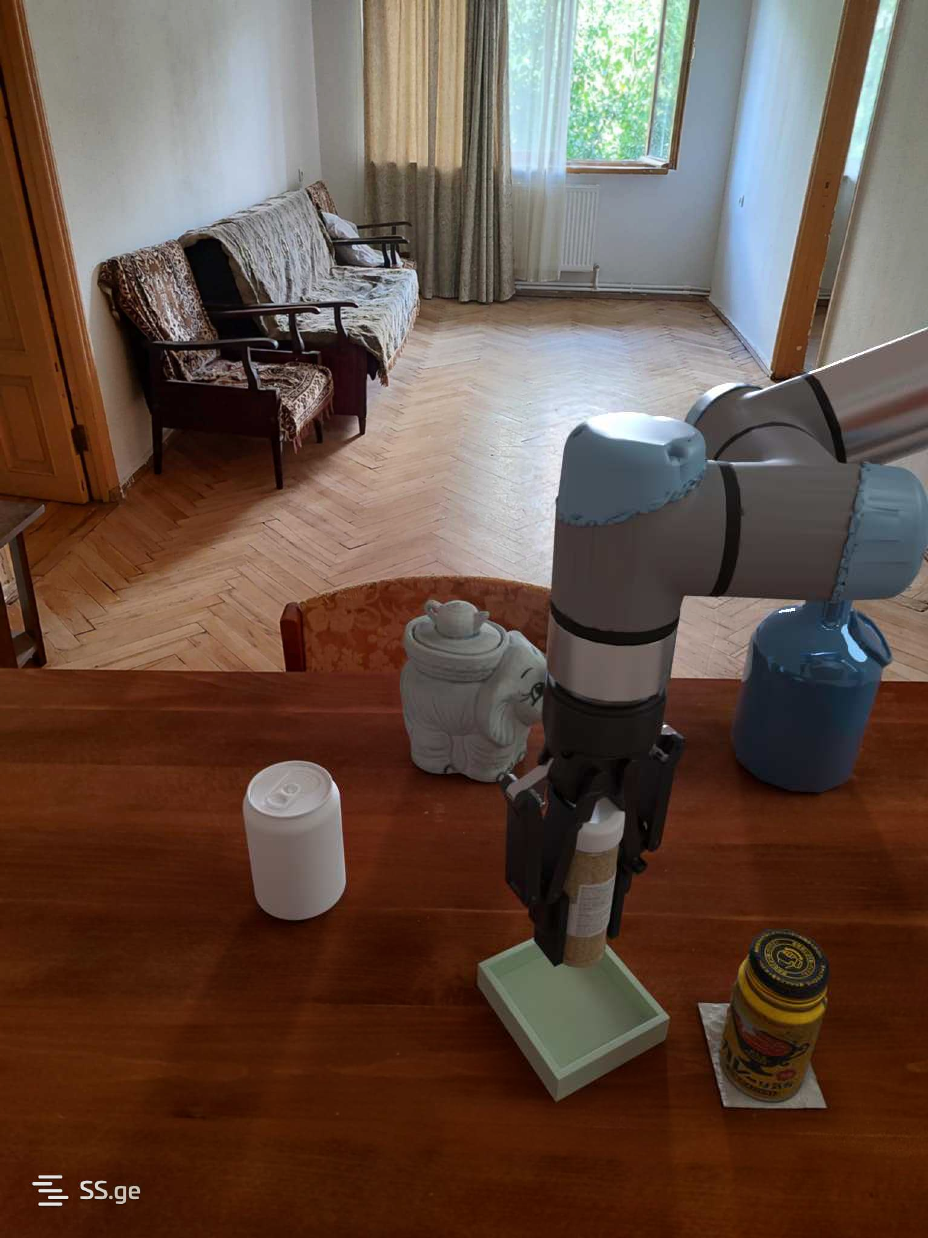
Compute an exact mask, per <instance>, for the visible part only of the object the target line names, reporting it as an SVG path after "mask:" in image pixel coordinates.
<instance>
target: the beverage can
mask: <svg viewBox="0 0 928 1238" xmlns="http://www.w3.org/2000/svg"><path fill="white" fill-rule="evenodd" d="M242 814H243V821H244V828H245V835H246V841H247V849H248V854H249V856H248V857H249V861H250V869H251V876H252V883H253V890H254V896H255V899H256V902H257V903H258V906H259V907H260V908H261V909H262V910H264V912H265V913H267V914H269V915H271V916H273V917H274V918H277V919H281V920H286V921H301V920H307V919H311V918H315V917H317V916H319V915H321V914H323V913H325V912H327V911H328V910H330V909H331V908H332V907H333V906H334V905H335V904H336V903H337V902H339V900H340V899H341V897H342V895H343V893H344V891H345V888H346V882H347V880H346V878H347V877H346V865H345V863H346V861H345V850H344V837H343V836H344V835H343V822H342V809H341V795H340V791H339V789H338V786H337V784H336V782H335V781H334V780H333V778H332V776H331V774H330V773H329V772H328V770H327V769H325V768H324V767H322V766H320V765H319V764H316V763H313V762H310V761H304V760H289V761H282V762H278V763H275V764H272V765H270V766H268V767H266V768H264V769H262V770H261V771H259V772H258V773H257V774H256V775H254V776H253V778H252V779H251V780H250V781H249V783H248V786H247V789H246V793H245V795H244V798H243V801H242Z"/></svg>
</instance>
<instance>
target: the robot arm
mask: <svg viewBox="0 0 928 1238" xmlns="http://www.w3.org/2000/svg"><path fill="white" fill-rule="evenodd" d="M565 440H566V441H565V443H564V447H563V452H562V461H561V469H560V477H559V484H558V491H557V492H558V493H557V496H556V498H555V500H554V502H555V515H554V533H553V548H552V549H553V550H552V553H553V554H552V566H551V567H552V568H551V584H550V600H549V612H548V613H549V614H548V616H549V617H548V627H547V638H546V639H547V641H546V652H545V654H546V665H547V670H546V672H545V676H544V688H543V702H542V722H541V723H542V728H543V732H544V734H543V735H544V743H543V746H542V748H541V750H540V752H539V754H538V756H537V759H536V767H534V768H533V769H532V770H530V771H529V772H528V773H526V774H525V775H523V776H522V777H521V778H518V777H517V776H516V775H515V774H513V773H509V774H508V775H506V776H505V777H504V778H503V779H502V780H501V781H499V788H500V790H501V793H502V795H503V797H504V799H505V801H506V827H505V829H506V830H505V831H506V834H505V862H504V863H505V865H504V866H505V867H504V868H505V869H504V881H505V884H506V885H507V886H508V888H509V889H510V890H511V891H512V893H514V895H515V896H516V897H517V898H518V900H519V901H520V903H522V905H523V907H525V908H527V910H528V911H527V916H528V919H529V920H530V922H531V923H532V924H533V925H534V928H533V929H534V930H533V938H534V942H535V943H536V944H537V945H538V947H539V948H540V949H541V951H542V952H543V953H544V954H545V956H546V957H547V958H548V960H549V961H550V962H551V964H552V965H553V966H554V967H556V966H558V965H560V964H562V963H563V958H564V949H565V940H566V930H567V921H568V911H569V902H570V898H569V897H568V896H567V895H566V894H565V893H564V891H563V890H562V889H563V886H564V883H565V880H566V877H567V874H568V871H569V867H570V864H571V861H572V858H573V855H574V852H575V849H576V844H577V837H578V832H579V830H580V829H582V827H583V824H584V823H588V822H590V820H591V818H592V815H593V812H594V808H595V805H596V802H597V801H599V800H600V799H602V798H606V797H607V798H608V799H609V800H610V801H611V802H612V803H613V804H614V805H616V806H617V807H618V808H619V809H620V810H621V812H624V813H625V821H624V830H623V836H622V838H621V840H620V842H619V848H618V854H617V862H616V866H617V868H616V876H615V883H614V891H613V898H612V904H611V911H610V918H609V923H608V925H607V932H606V937H608V938H609V939H610V940H614V939H615V938H617V937H619V936H620V930H621V924H622V916H623V910H624V904H625V903H624V902H625V897H626V896H625V895H626V894H628V893H629V892H630V889H631V888H632V883H633V876H634V875H636V876H638V875H641V874H643V873H645V871H646V869H647V868H648V862H646V860H645V859H644V858H643V857H642V855H641V854H643V853H644V852H646V851H647V852H649V853H654V852H656V851H657V850H658V849H659V848H660V847H661V844H662V841H663V835H664V830H665V825H666V820H667V816H668V815H667V814H668V810H669V804H670V799H671V794H672V787H673V782H674V777H675V771H676V767H677V765H678V763H679V761H680V759H681V757H682V755H683V753H684V750H685V748H686V746H687V739H686V738H685V737H684V736H683V735H681V734H680V733H679V732H677V731H676V730H675V729H673V728H672V727H671V726H670V725H669V724H668V723H666V722H665V721H664V719H665V712H666V707H667V701H668V700H667V699H668V694H669V687H668V684H669V683H670V682H671V676H672V669H673V663H674V656H675V650H676V644H677V635H678V629H679V624H680V618H681V608H682V604H683V601H684V598H685V597H704V598H720V597H721V598H722V597H723V598H740V599H741V598H743V599H745V598H746V599H763V600H764V599H766V600H785V601H805V600H806V601H828V602H829V603H833V604H834V603H838V602H839V601H852V600H854V601H874V600H876V601H877V600H889V599H892V598H895V597H897V596H899V595H900V594H902V593H903V592H905V591H906V590H907V589H908V588H909V587H910V586H911V585H912V584H913V582H914V581H915V580H916V578H917V576H918V575H919V574H920V571H921V569H922V566H923V562H924V560H925V557H926V553H927V549H928V496H927V493H926V491H925V489H924V486H923V484H922V482H921V481H920V479H919V478H918V477H917V476H916V475H915V474H914V473H913V472H912V471H910V470H909V469H907V468H905V467H902V466H895V465H888V464H889V463H893V462H895V461H896V462H897V461H899V460H901V459H904V458H907V457H910V456H913V455H915V454H919V453H921V452H925V451H926V450H928V326H927V327H925V328H922V329H919V330H916V331H913V332H911V333H909V334H906V335H903V336H901V337H898V338H896V339H894V340H891V341H889V342H886V343H883V344H881V345H878V346H875V347H873V348H869V349H868V350H865V351H861V352H860V353H857V354H854V355H852V356H851V355H850V356H849V357H846V358H843V359H841V360H839V361H836V362H833V363H831V364H829V365H825V366H823V367H821V368H818V369H815V370H812V371H810V372H807V373H804V374H802V375H801V374H800V375H798V376H795V377H792V378H790V379H787V380H785V381H781V382H779V383H776V384H773V385H771V386H768V387H766V388H764V387H762V386H760V385H758V384H757V385H756V384H752V383H747V382H729V383H724V384H721V385H718V386H716V387H713V388H712V389H710V390H708V391H707V392H705V393H704V394H703V395H701V396H700V397H699V398H698V399H697V400H696V401H695V402H694V404H692V406H691V407H690V409H689V411H688V412H687V414H686V416H685V418H684V421H682V420H680V419H676V418H672V417H668V416H654V415H650V414H647V413H641V412H618V413H617V412H616V413H608V414H602V415H597V416H594V417H591V418H588V419H586V420H584V421H582V422H580V423H579V424H578V425H576V426H575V428H573V429H572V430H571V431H570V433H569V434H568V436H567V438H566V439H565ZM545 798H546V800H547V802H546V801H545ZM544 810H545V813H544V814H543V811H544Z"/></svg>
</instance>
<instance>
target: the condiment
mask: <svg viewBox="0 0 928 1238" xmlns="http://www.w3.org/2000/svg"><path fill="white" fill-rule="evenodd" d="M747 952H748V954H747V955H746V958H745V959H744V960H743V961H742V963H741V964H740V965H739V967H738V971H737V972H736V973H737V974H736V977H735V981H734V983H733V985H732V994H731V996H730V999H729V1003H725V1002H723V1003H711V1002H698V1003H697V1005H698V1009H699V1012H700V1017H701V1020H702V1024H703V1029H704V1031H705V1036H706V1040H707V1044H708V1049H709V1053H710V1057H711V1061H712V1065H713V1068H714V1074H715V1077H716V1081H717V1085H718V1088H719V1093H720V1098H721V1101H722V1103H723V1106H724V1107H725V1108H750V1109H805V1108H807V1109H815V1108H816V1109H827V1108H828V1107H827V1105H826V1102H825V1098H824V1096H823V1094H822V1091H821V1089H820V1086H819V1084H818V1080H817V1077H816V1074H815V1071H814V1069H813V1066H812V1062H811V1057H812V1053H813V1051H814V1048H815V1044H816V1042H817V1039H818V1035H819V1032H820V1029H821V1026H822V1023H823V1019H824V1017H825V1013H826V1010H827V1007H828V993H827V989H828V983H829V981H830V977H831V970H830V962H829V960H828V958H827V956H826V953H825V952H824V950H823V949H822V948H821V947H820V945H819V944H818V943H816V942H815V940H812V939H811V938H809V937H808V936H805V935H804V934H801V933H799V932H797V931H794V930H791V929H785V928H772V929H771V928H770V929H765V930H763V931H762V932H761V933H759V934H757V935H756V936H755V937H753V939H752V942H751V943H750V944H749V948H748V951H747Z"/></svg>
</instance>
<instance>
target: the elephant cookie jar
mask: <svg viewBox="0 0 928 1238" xmlns="http://www.w3.org/2000/svg"><path fill="white" fill-rule="evenodd" d="M423 608H424V613H425V615H422V616H419V617H416V618H414V619H412V620H411V621H409V622H408V623H407V625H406V626H405V629H404V633H403V642H402V643H403V644H402V645H403V647H404V650H405V653H406V656H407V659H408V660H407V661H406V662H405V663H404V666H403V668H402V670H401V672H400V678H399V691H400V698H401V705H402V711H403V712H402V713H403V721H404V725H405V730H406V732H407V734H408V737H409V742H410V751H411V752H410V753H411V755H410V756H411V760H412V761H413V763H414V764H415V765H416V766H417V767H419V768H420V769H421V770H423V771H426V772H428V773H432V774H437V775H439V774H440V775H443V774H444V775H449V774H457V773H460V774H463V775H465V776H466V777H468V778H470V779H473V780H476V781H478V782H483V783H494V782H501V780H502V779H503V778H504V777H505V776H506V775H508V774H511V771H512V770H513V769H514V767H515V766H516V765H517V764H518V763H519V762H521V761H522V760H523V759H524V758H525V757H526V755H527V753H528V746H527V740H528V737H529V734H530V732H531V728H532V726H533V725H537V724H540V723H542V702H543V688H544V676H545V672H546V670H547V665H546V653H544V652H543V651H541V650H540V649H538V648H537V647H536V646H535V645H534V644H533V643H531V642H530V641H529V640H528V639H527V638H526V636H524V635H523V634H522V633H521V632H520V631H518V630H510V631H508V632H507V631H506V629H505V628H504V627H503V626H501V625H500V624H498V623H495V622H493V621H492V620H489V617H490V613H489V611H487V610H483V611H479V610H478V609H477V607H476V606H475V605H473V604H472V603H470V602H468V601H465V600H460V599H459V600H458V599H457V600H452V601H448V602H446V603H444V604H443V603H440V602H439V601H436V600H435V599H428V600H427V601H425V603H424V606H423ZM433 609H434V610H435V612H436V613H435V612H434V611H433Z"/></svg>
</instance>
